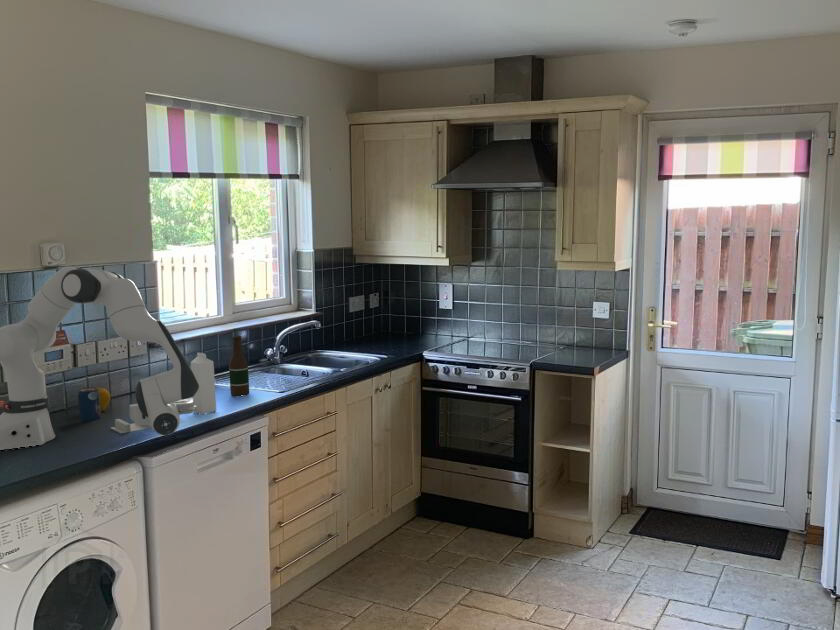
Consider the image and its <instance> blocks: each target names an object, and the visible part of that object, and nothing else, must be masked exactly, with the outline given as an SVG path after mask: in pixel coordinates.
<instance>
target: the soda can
mask: <svg viewBox="0 0 840 630" xmlns="http://www.w3.org/2000/svg"><path fill="white" fill-rule="evenodd" d="M97 388H98V387H84V388H80V389H79V391H78V394H77V401H78V415H79V422H80V423H87V422H91V421H96V420H100V419H101V418H102V417H101V413H102V412H100V401H99V392H98V391H97Z"/></svg>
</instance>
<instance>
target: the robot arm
mask: <svg viewBox="0 0 840 630" xmlns="http://www.w3.org/2000/svg"><path fill="white" fill-rule="evenodd" d="M137 287H138V286H136V284H135V283H134V281H132V280H131V279H128V278H124V277H123V276H122V275H120V274H119V273H116V272H114V271H108V270H104V269H91V268H90V269H89V268H88V269H86V268H77V267H74V266H70V265H69V266H64V267H62V268H60V269H58V270H57V271H56V272H55V273H54V274H53V275H51V276H50V277H49V278H48V279H47V280H46V282H45V283H44V284H43V285H42V286H41V287H40V288H39V290H38V291H37V292H36V294H35V295H34V296H32V297H33V298H32V299H31V300H30V301H29V302H28V304H27V310H28V313H27V314H26V316H25V318H24V319H22V320H21V321H19V322H16V323H11V324H6V325H2V326H0V365H1V367H2V369H3V372H4V374H5V378H6V383H7V392H8V400H6V401H4V400H0V408H2V411H3V412H2V413H1V414H0V450H4V449H12V448H18V449H21V448H20V447H25V448H30V447H29V446H32V447H36V445H39V446H42V445H44V444H45V443H47V442H49V441H52V440H53V439H56V437H57V436H56V433H55V432H54V429H53V426H52V422H51V419H50V399H49V395H48V394H47V388H46V387H47V386H46V384H47V383H46V375H45V372H44V371H43V369H41V368H39V367H38V365H37V364H36V362H35V359H34V355H35V354H38V353H41V352H43V351H46V350H48V349H49V348H50V347H52V346H53V345H54V343H55V342H56V340H57V339H56V338H57V329H58V327H59V326H60V324H61V322H63V320H64V319H65V317H66V316H67V315H68V313H69V312H70V311H71V310H72V309H73V307H74V306H75V305H76V304H84V305H91V306H92V305H93V306H96V305H97V306H98V305H101V306H102V305H104V307H105V308H106V311H107V315H108V317H109V320H110V323H111V325H112V328H113V330H114V331H115V333H116V335H118V336H119V338H122V339H124V340H126V341H131V342H149V343H155V344H158V345H160V346H161V347H162V349H163V350H164V352H165V353H166V355H167V356H168V359H169V360H170V362H171V363H172V365H173V367H172V369H170V370H167V371H164V372H161V373H158V374H155V375H151V376H147V377H145V378H141V379H140V380H139V381H138V382H137V384H136V386H135V390H134V391H135V393H134V394H135V399H136V402H137V403H134V404H133V403H132V404H129V405H128V409H129V410H128V412H129V418H130V420H131V421H132V422H133V423H135V425H138V426H139V425H140V426H151V427H152V428H151V429H152V431H153V432H155V433H156V434H157V435H160V436H169V435H172V434H173V433H175V432H176V431H177V430H178V429H179V426H180V423H181V422H180V419H181V418H180V416H182V415H188V414H193V413H195V412H194V410H195V409H197V406H196V405H194V399H193V396H194V395H195V394H196V392H197V391H198V389H199V381H198V378H197V376H196V374H195V372H194V371H193V370H192V369H191V365H190V364H189V363H188V361H187V360H186V359H185V355H184V354H183V353H182V351H181V349H180V348H179V346H178V344H177V342H176V340H175V338H174V337H173V336H172V334H171V333H170V331H169V329H168V327H166V325H165V323H164V322H162V320H160V319H155V318H154V317H153V316H151V314H150V313H149V311H148V309H147V306H146V305H145V301H144V300H143V298H142V295H141V292H140V290H139V289H138V288H137ZM12 450H13V449H12Z"/></svg>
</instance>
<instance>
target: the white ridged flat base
mask: <svg viewBox="0 0 840 630" xmlns="http://www.w3.org/2000/svg"><path fill="white" fill-rule="evenodd" d="M183 422H184V420H183V419H181V418H180V422H179V423H183ZM114 425H115V426H113V427H110V429H111V430H113V431H115V432H117V433H119V434H126V433H130V432H135V431H137V432H138V431H141V430H146V429H152V427H151V426H140V425H139V426H138V425H135V422H132V423H129V422H127V421H125V420H123V419H120V418H115V419H114Z"/></svg>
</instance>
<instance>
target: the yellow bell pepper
mask: <svg viewBox="0 0 840 630" xmlns="http://www.w3.org/2000/svg"><path fill="white" fill-rule="evenodd" d="M96 388H97V391H98V392H99V401H100V413H102V412H103V411H105V410H106V409H107V407H108V405H109V404H110V401H111V394H110V392H109V391H108V390H107V389H106V388H104V387H103V388H101V387H100V388H99V387H96Z"/></svg>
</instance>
